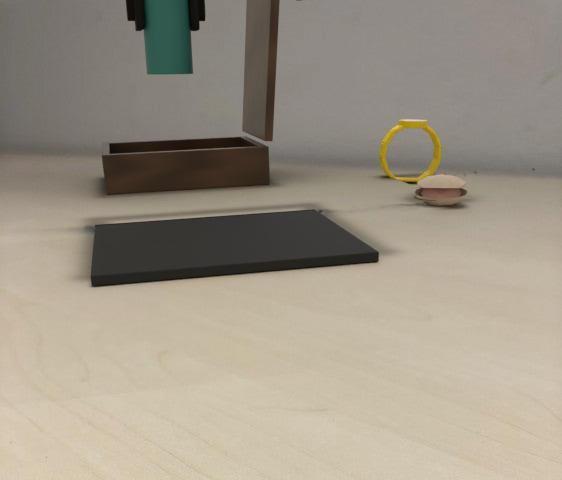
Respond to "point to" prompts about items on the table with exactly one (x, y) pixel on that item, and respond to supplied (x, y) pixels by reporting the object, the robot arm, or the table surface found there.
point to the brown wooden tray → (184, 164)
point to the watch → (402, 124)
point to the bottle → (167, 36)
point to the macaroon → (441, 189)
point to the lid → (260, 67)
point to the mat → (221, 246)
